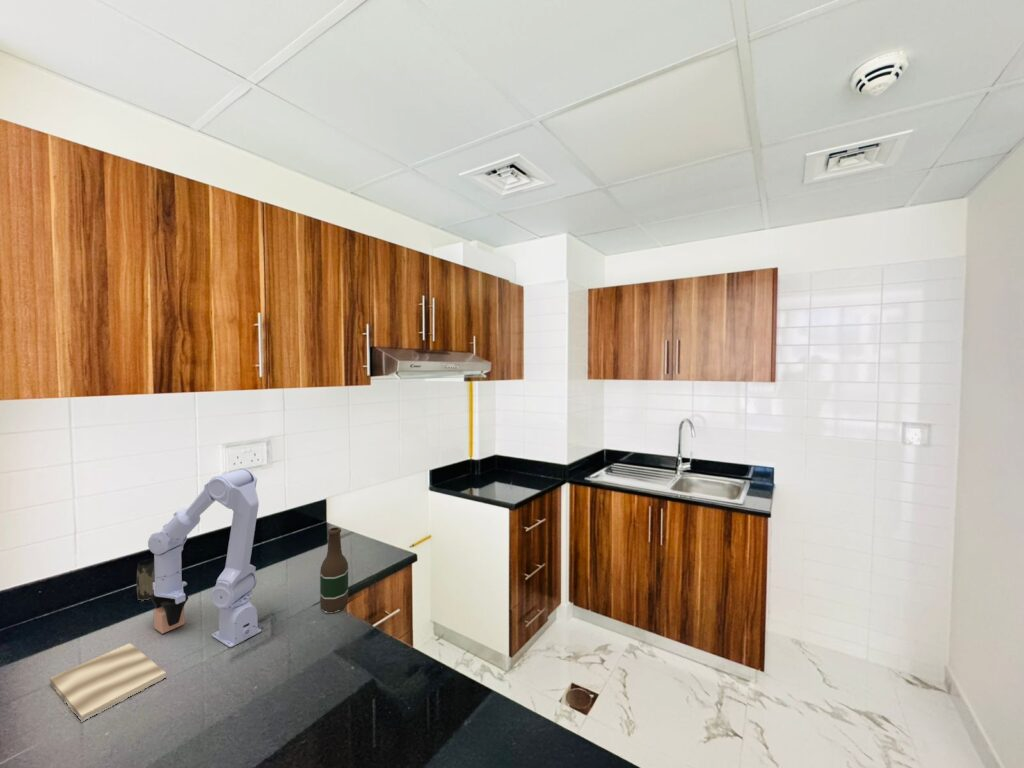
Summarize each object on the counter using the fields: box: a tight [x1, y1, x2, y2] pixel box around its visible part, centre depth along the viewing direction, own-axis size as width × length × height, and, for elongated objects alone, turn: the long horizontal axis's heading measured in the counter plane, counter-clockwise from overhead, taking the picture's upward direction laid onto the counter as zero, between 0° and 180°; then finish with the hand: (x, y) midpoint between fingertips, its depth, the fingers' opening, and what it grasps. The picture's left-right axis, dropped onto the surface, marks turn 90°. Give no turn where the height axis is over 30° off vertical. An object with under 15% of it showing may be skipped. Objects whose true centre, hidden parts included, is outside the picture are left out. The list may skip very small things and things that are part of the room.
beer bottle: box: [319, 526, 349, 612], centre depth 126 cm, size 8×8×24 cm
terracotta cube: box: [153, 606, 185, 634], centre depth 115 cm, size 5×5×5 cm
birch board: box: [49, 642, 167, 720], centre depth 95 cm, size 20×14×2 cm
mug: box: [136, 557, 155, 602], centre depth 131 cm, size 8×6×12 cm
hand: (169, 620), depth 115 cm, fingers closed on terracotta cube, 5 cm apart
